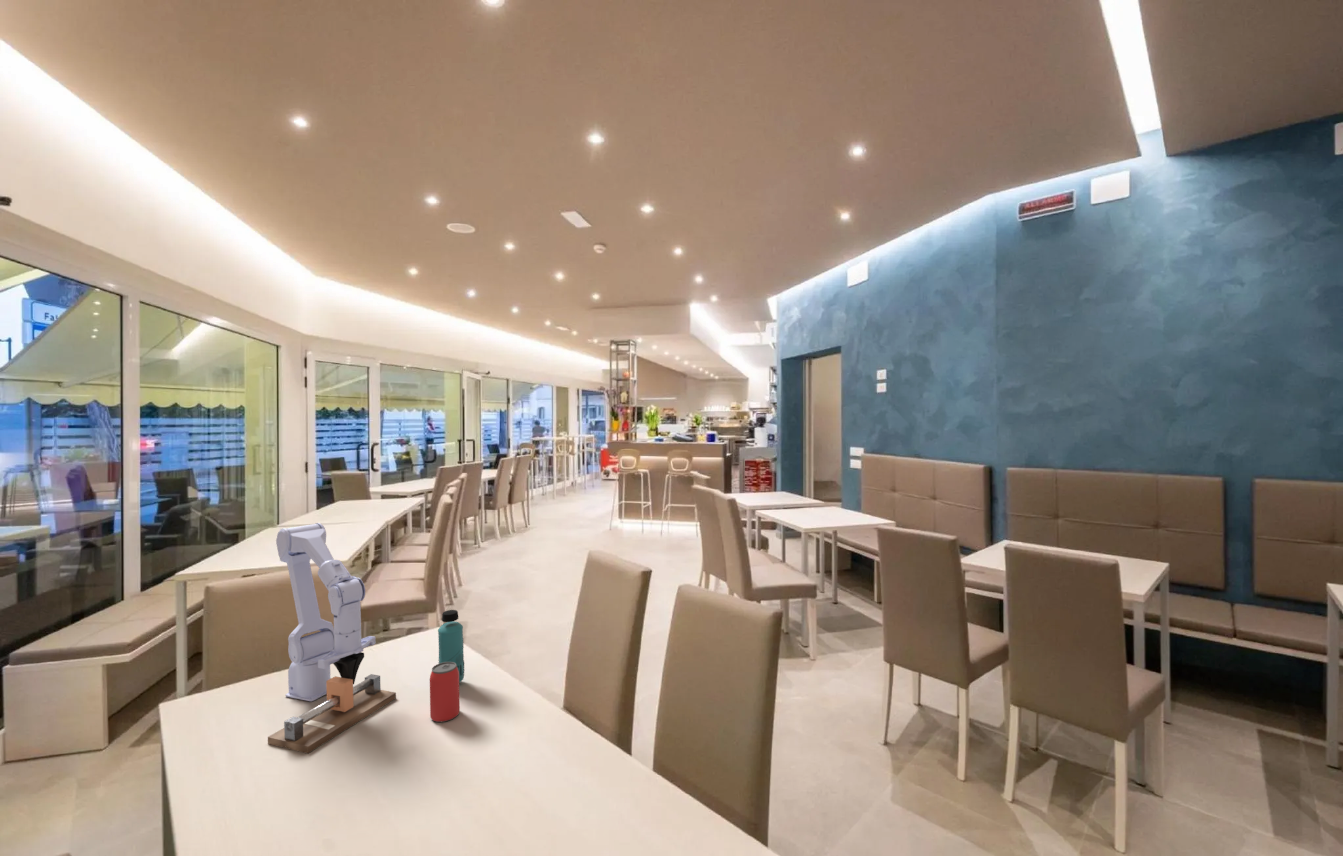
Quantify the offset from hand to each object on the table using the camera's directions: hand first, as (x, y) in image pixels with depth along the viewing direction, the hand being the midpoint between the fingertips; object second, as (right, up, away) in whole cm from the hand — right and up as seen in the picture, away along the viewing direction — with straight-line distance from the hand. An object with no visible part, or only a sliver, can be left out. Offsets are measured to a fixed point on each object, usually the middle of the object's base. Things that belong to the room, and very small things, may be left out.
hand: (348, 684), depth 134 cm
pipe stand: (-1, -5, -3) cm, 6 cm away
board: (-1, -7, -3) cm, 8 cm away
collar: (-1, -4, -2) cm, 5 cm away
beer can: (+25, -7, -2) cm, 26 cm away
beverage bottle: (+20, -6, +13) cm, 25 cm away
